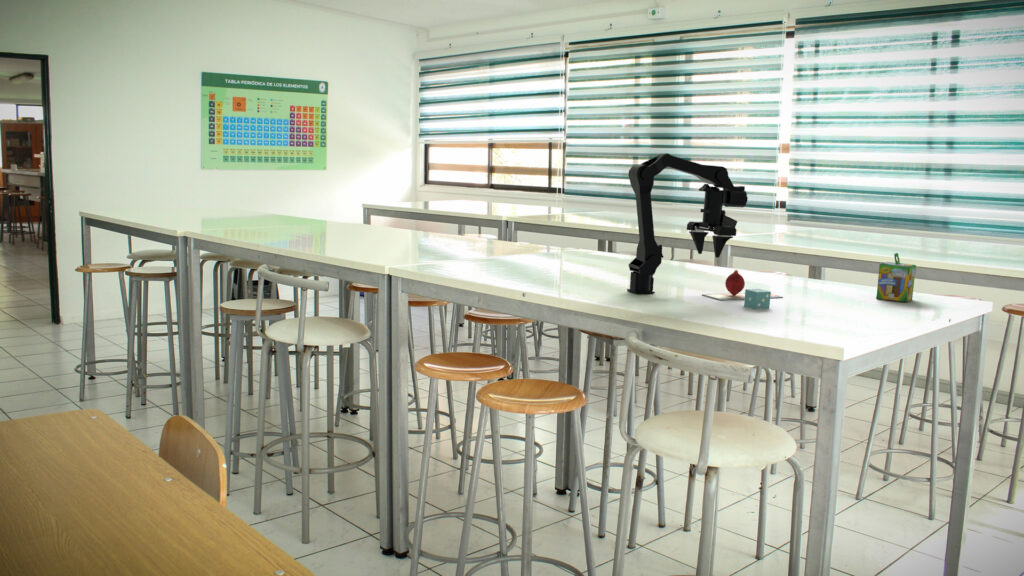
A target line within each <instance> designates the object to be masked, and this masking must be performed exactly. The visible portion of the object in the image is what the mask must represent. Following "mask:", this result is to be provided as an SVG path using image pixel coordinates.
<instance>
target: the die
mask: <svg viewBox="0 0 1024 576" xmlns="http://www.w3.org/2000/svg"><path fill="white" fill-rule="evenodd" d="M744 293H745V299H743V300H744V303H743V307H746V306H747V307H746V308H750V309H752V310H762V309H763V310H766V309H768V310H769V309H770V306H771V305H770V304H771V298H770V296H771V294H772V291H769V290H767V289H762V288H746V289H745V292H744Z"/></svg>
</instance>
